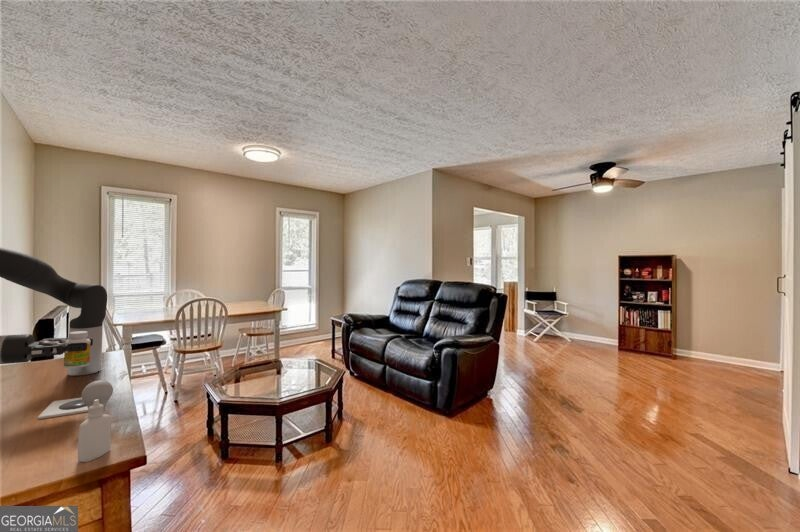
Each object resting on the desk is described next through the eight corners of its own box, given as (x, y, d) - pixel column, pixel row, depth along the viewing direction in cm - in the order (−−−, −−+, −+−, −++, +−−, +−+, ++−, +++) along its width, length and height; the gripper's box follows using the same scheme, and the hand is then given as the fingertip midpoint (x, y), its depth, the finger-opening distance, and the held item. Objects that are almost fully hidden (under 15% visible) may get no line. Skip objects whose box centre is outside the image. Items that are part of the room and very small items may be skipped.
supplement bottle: (73, 369, 94) (74, 334, 94) (58, 367, 95) (60, 333, 95) (94, 364, 99) (96, 331, 100) (80, 362, 101) (81, 330, 101)
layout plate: (53, 403, 99) (53, 400, 99) (110, 395, 106) (110, 393, 106) (37, 419, 89) (37, 416, 89) (102, 409, 96) (102, 407, 96)
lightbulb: (76, 430, 84) (77, 386, 84) (85, 420, 89) (86, 378, 89) (108, 426, 86) (109, 382, 86) (115, 416, 92) (116, 375, 92)
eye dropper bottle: (74, 457, 72) (76, 401, 72) (108, 446, 77) (109, 393, 77) (79, 465, 70) (81, 406, 70) (114, 453, 74) (116, 398, 74)
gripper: (-8, 340, 84) (83, 335, 93) (18, 330, 96) (96, 327, 105) (-9, 371, 84) (82, 363, 93) (16, 357, 96) (95, 351, 105)
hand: (89, 344), depth 99 cm, fingers closed on supplement bottle, 5 cm apart
